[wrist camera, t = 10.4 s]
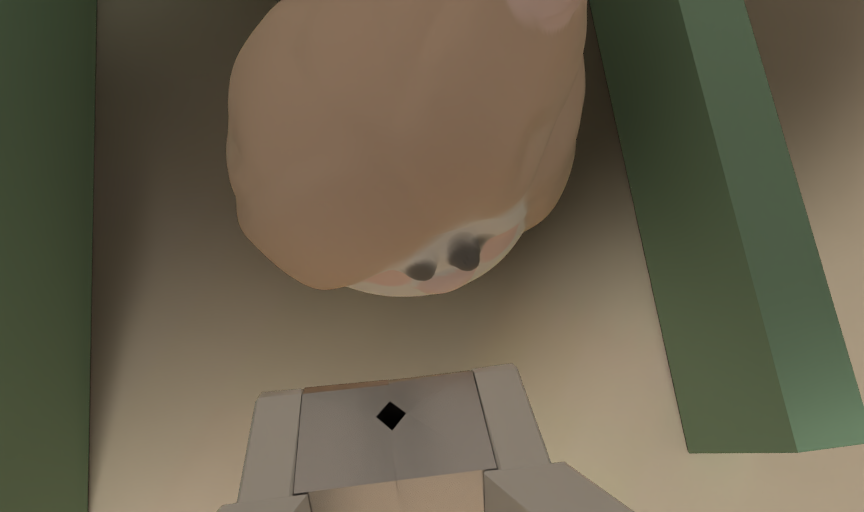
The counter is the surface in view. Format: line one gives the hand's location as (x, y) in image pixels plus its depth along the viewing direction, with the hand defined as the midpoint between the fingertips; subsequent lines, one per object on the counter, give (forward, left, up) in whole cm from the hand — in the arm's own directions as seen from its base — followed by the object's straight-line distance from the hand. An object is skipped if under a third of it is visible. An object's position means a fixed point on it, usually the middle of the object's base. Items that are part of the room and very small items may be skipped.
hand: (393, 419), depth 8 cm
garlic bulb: (-3, -4, -6) cm, 8 cm away
